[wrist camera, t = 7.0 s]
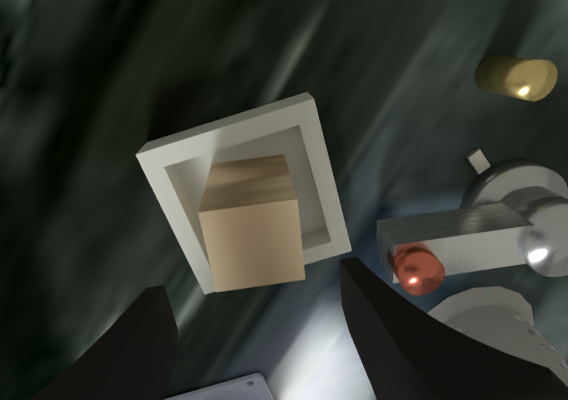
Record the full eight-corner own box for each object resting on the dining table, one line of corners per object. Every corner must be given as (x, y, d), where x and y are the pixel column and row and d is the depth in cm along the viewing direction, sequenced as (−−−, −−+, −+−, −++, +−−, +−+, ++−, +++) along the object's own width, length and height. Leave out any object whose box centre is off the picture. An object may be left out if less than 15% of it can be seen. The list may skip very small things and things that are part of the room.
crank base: (463, 254, 25) (494, 287, 22) (446, 70, 19) (485, 77, 16) (550, 229, 24) (595, 258, 21) (557, 35, 19) (618, 36, 16)
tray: (208, 272, 23) (204, 294, 21) (146, 142, 20) (135, 154, 18) (342, 232, 23) (352, 250, 21) (307, 91, 19) (313, 98, 17)
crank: (564, 181, 21) (630, 212, 17) (550, 240, 23) (608, 280, 19) (375, 208, 21) (402, 245, 17) (375, 266, 22) (400, 312, 19)
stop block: (283, 154, 20) (297, 199, 15) (291, 218, 22) (305, 279, 16) (211, 163, 20) (198, 212, 14) (224, 227, 22) (216, 292, 16)
